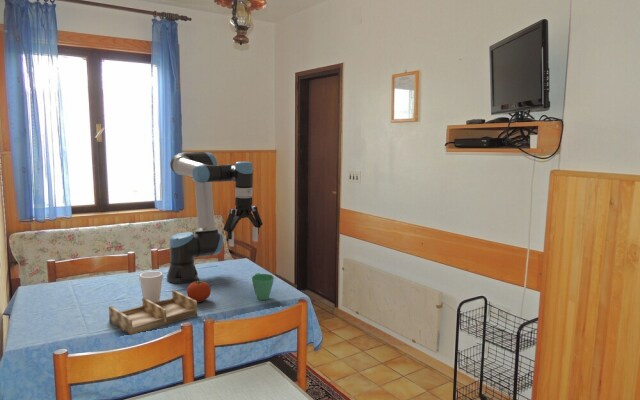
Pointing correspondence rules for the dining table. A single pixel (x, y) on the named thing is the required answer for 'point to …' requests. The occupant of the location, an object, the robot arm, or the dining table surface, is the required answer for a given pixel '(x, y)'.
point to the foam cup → (151, 285)
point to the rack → (153, 313)
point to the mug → (262, 285)
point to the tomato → (198, 291)
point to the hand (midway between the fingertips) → (243, 243)
